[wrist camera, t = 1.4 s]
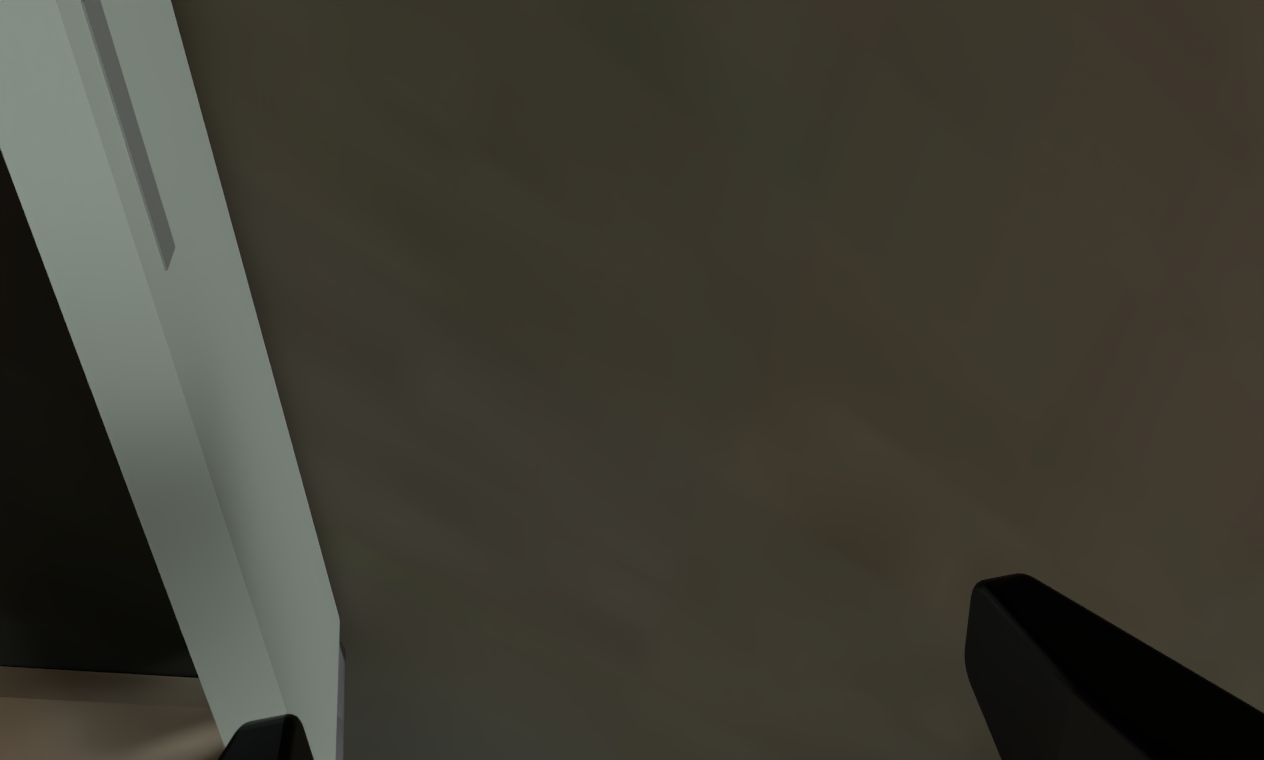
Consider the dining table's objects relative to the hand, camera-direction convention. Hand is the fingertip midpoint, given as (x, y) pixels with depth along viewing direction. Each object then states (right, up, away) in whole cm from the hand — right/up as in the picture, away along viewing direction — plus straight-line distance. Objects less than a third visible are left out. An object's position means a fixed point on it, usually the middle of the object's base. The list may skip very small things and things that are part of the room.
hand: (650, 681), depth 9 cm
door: (-7, +3, +11) cm, 13 cm away
